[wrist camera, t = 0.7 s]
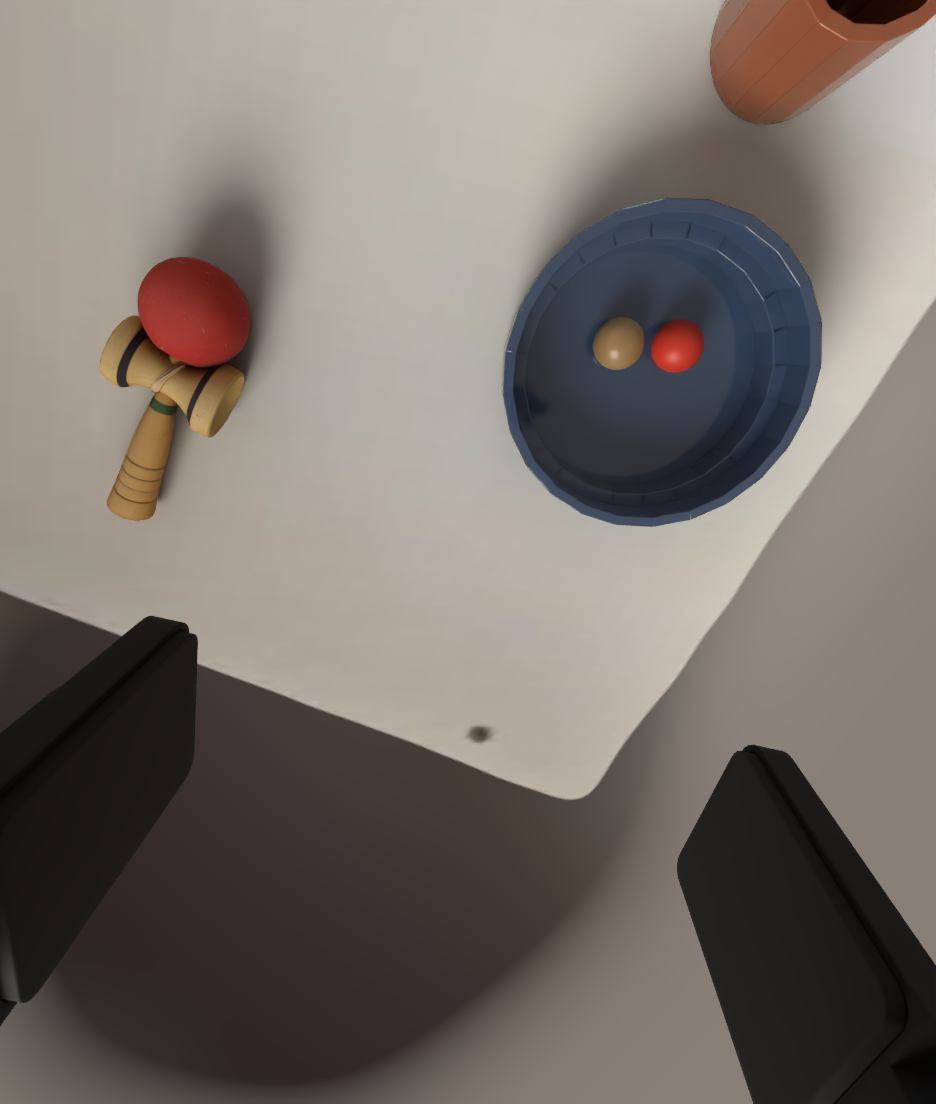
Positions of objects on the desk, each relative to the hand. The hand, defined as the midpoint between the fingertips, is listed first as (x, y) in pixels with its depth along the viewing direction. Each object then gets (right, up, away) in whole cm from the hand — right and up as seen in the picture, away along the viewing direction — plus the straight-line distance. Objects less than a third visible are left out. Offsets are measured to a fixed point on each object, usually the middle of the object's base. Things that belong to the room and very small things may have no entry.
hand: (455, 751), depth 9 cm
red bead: (+13, +16, +23) cm, 31 cm away
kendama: (-19, +14, +28) cm, 37 cm away
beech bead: (+9, +16, +23) cm, 30 cm away
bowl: (+11, +15, +26) cm, 32 cm away
